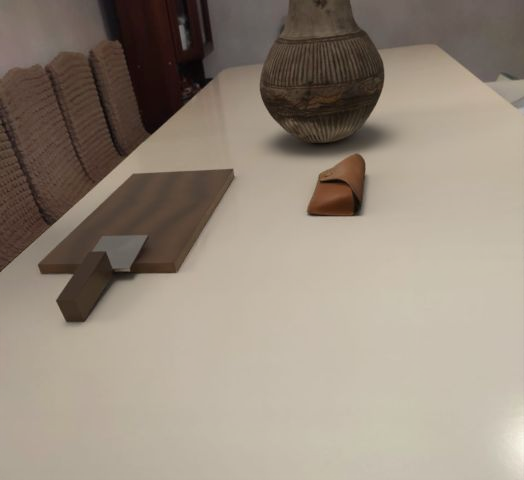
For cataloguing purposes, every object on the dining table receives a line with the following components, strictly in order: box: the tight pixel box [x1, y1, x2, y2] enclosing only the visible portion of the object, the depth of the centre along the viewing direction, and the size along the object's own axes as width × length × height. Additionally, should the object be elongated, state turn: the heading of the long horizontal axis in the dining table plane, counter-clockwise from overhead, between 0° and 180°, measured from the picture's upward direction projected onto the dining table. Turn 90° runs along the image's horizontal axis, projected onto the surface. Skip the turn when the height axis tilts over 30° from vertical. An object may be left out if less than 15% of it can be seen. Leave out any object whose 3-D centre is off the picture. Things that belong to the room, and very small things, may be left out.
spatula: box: [55, 235, 149, 323], centre depth 68 cm, size 18×7×3 cm, turn 170°
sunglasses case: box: [306, 152, 367, 217], centre depth 86 cm, size 18×7×7 cm
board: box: [37, 168, 235, 275], centre depth 87 cm, size 20×37×2 cm, turn 170°
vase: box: [259, 0, 386, 144], centre depth 103 cm, size 25×25×30 cm
